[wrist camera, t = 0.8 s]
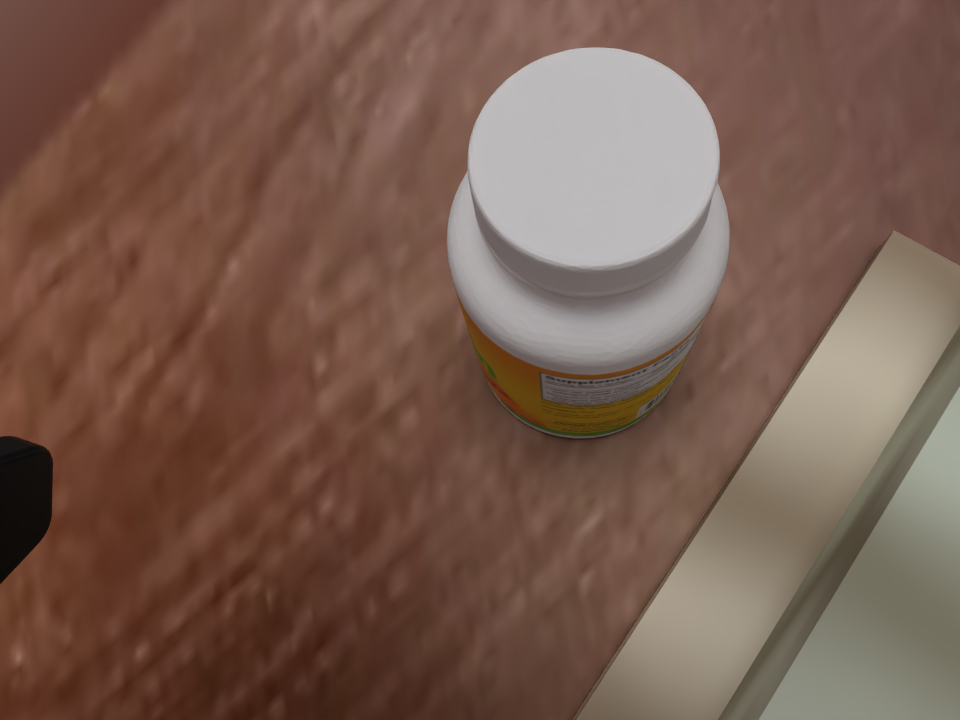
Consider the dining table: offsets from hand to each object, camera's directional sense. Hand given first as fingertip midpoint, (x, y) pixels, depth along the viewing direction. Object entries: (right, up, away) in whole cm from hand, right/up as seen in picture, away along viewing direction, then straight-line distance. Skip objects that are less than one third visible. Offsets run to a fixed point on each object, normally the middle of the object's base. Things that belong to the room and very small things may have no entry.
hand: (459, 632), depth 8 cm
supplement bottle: (+3, +3, +15) cm, 15 cm away
